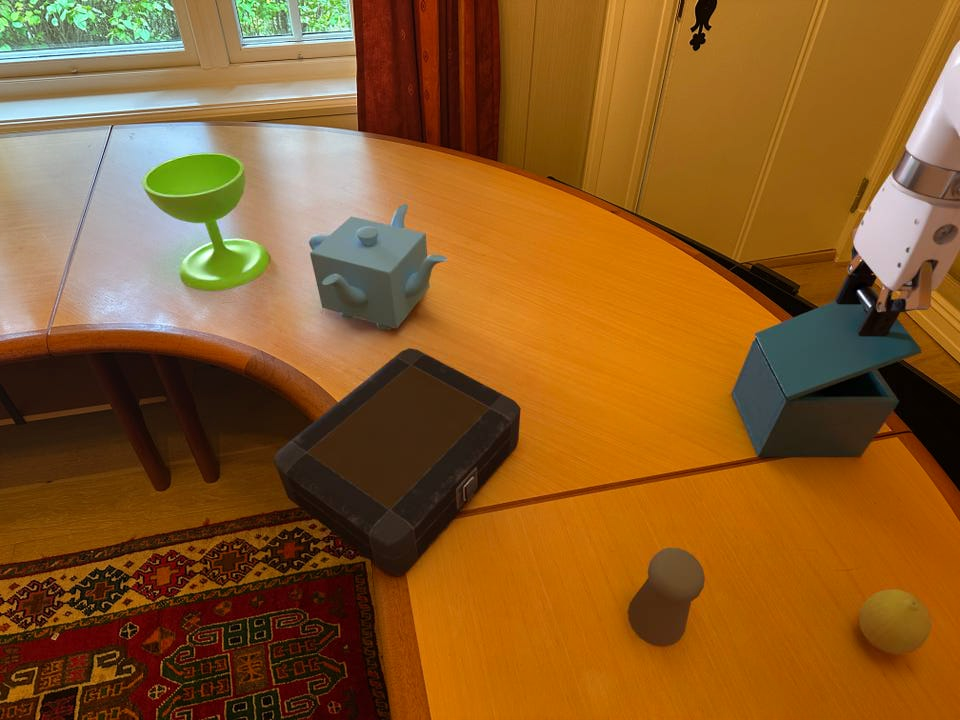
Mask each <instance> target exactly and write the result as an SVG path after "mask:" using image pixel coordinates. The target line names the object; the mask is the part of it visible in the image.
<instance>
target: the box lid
mask: <svg viewBox="0 0 960 720" xmlns="http://www.w3.org/2000/svg"><path fill="white" fill-rule="evenodd" d="M853 293H854V294H855V296H856V297H857V298H858V300H859V301H860V302H861V305H840V304H837V303H836V301H835V300H833V301H831V302H828V303H826V304H823V305H821V306H818V307H816V308H814V309H812V310H809V311H806V312H804V313H801V314H799V315H796V316H794V317H791V318H789V319H787V320H784V321H781V322H780V323H779V322H778V323H777V324H774V325H772V326H770V327H767V328H764V329H761V330H760V331H756V332H754V336H755V338H757V340H758V342H759V344H760V346H761V348H762V350H763V352H764V354H765V356H766V358H767V360H768V362H769V364H770V366H771V368H772V370H773V372H774V374H775V376H776V378H777V380H778V382H779V384H780V386H781V388H782V389H783V391H784V393H785V395H786V397H787V399H788V401H789V400H792V399H795V398H798V397H800V396H803V395H806V394H809V393H811V392H814V391H817V390H820V389H823V388H825V387H828V386H831V385H834V384H837V383H839V382H842V381H845V380H848V379H850V378H853V377H856V376H859V375H862V374H864V373H867V372H870V371H873V370H875V369H877V370H878V369H881V368H884V367H886V366H890V365H892V364H895V363H897V362H900V361H903V360H906V359H909V358H912V357H914V356H917V355H920V354H922V348H921V346H920V345H919V344H918V343H917V341H916V340H915V339H914V337H912V335H911V334H910V333H909V331H908V330H907V329H906V328H905V326H904V325H903V323H902V322H901V321H900V320H899V319H898V318H897V319H896V321H895V322H894V324H893V325H892V327H891V329H890V330H889V332H888V334H887V335H886V336H883V337H863V336H859V335H858V333H857V330H858V328H859V326H860V324H861V322H862V321H863V319H864V317H865V315H866V313H867V312H868V310H869V308H870V307H871V306H876V304H877V301H878V298H879V295H880V294H878V292H877V291H876V290H875V289H874V287H873V286H872V287H871V286H870V285H869V284H868V283H860V284H858V285H856V286H855V287H854V289H853Z"/></svg>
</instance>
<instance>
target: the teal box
mask: <svg viewBox="0 0 960 720" xmlns="http://www.w3.org/2000/svg"><path fill="white" fill-rule="evenodd" d="M730 394H731V397H732V399H733V401H734V404H735V406H736V409H737V411H738V413H739V416H740V418H741V421H742V422H743V425H744V428H745V431H746V432H747V434H748V438H749V439H750V442H751V444H752V446H753V449H754V451H755V453H756V456H757V458H861V457H862V455H863V454H864V453H865V451H866V450H867V449H868V447H869V446H870V444H871V443H872V441H873V440H874V438H875V437H876V436H877V435H878V433H879V431H880V430H881V429H882V427H883V426H884V424H885V423H886V422H887V420H888V418H889V417H890V416H891V415H892V413H893V411H894V410H895V409H896V407H897V405H898V404H899V403H900V400H899V399H898V398H897V397H898V396H896V395H895V393H894V392H893V391H892V389H891V388H890V386H889V384H888V383H887V381H886V380H885V379H884V377H883V376H882V374H881V373H880V372H879V370H878V369H875V370H873V371H870V372H867V373H864V374H862V375H859V376H856V377H853V378H850V379H848V380H845V381H842V382H839V383H837V384H834V385H831V386H828V387H825V388H823V389H820V390H817V391H814V392H811V393H809V394H806V395H803V396H800V397H798V398H795V399H792V400H789V401H788V399H787V397H786V395H785V393H784V391H783V389H782V388H781V386H780V384H779V382H778V380H777V378H776V376H775V374H774V372H773V370H772V368H771V366H770V364H769V362H768V360H767V358H766V356H765V354H764V352H763V350H762V348H761V346H760V344H759V342H758V340H757V338H756V337H754V338H753V340H752V342H751V345H750V347H749V350H748V352H747V355H746V357H745V359H744V362H743V364H742V367H741V369H740V371H739V374H738V376H737V378H736V381H735V383H734V386H733V388H732V390H731V393H730Z"/></svg>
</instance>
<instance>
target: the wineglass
mask: <svg viewBox="0 0 960 720" xmlns="http://www.w3.org/2000/svg"><path fill="white" fill-rule="evenodd" d="M141 186H142V188H143V190H144V192H145V193H146V195H147V197H148V198H149V200H150V201H151V202H152V203H153V204H154V205H155V206H156V207H157V208H158V209H160V210H161V211H162V212H163V213H165V214H166V215H168V216H170V217H172V218H174V219H176V220H179V221H182V222H187V223H191V224H204V225H205V228H206V230H207V233H208V236H209V239H210V241H211V242H209V243H206V244H204V245H201V246H200V247H198V248H196V249H195V250H193V251H191V252H190V253H189V254H188V255H187V256H186V257H185V258H184V259H183V261H182V262H181V264H180V266H179V267H180V268H179V277H180V279H181V281H182V282H183V283H184V284H185V285H186V286H187V287H190V288H192V289H194V290H199V291H205V292H206V291H212V292H213V291H223V290H231V289H233V288H237V287H240V286H243V285H246V284H247V283H249V282H252V281H254V280H255V279H257V278H258V277H259V276H261V275H262V273H264V272H265V271H266V270H267V268H268V266H269V265H270V261H271V260H270V254H269V253H268V251H267V249H266V248H265V247H264V246H262V244H260V243H258V242H255V241H253V240H249V239H242V238H228V239H223V237H222V234H221V230H220V227H219V225H218V222H217V221H218V220H220V219H223V218H225V217H226V216H227V215H229V214H230V213H231V212H232V211H233V210H234V209H235V208H236V207H238V204H239V202H240V200H241V198H242V197H243V195H244V192H245V188H246V187H245V186H246V171H245V164H244V163H243V162H242V160H241V159H239V158H238V157H236V156H234V155H231V154H228V153H227V154H226V153H222V152H197V153H189V154H185V155H179V156H176V157H173V158H170V159H167V160H163V162H160V163H158V164H156V165H154V166H153V167H151V168H150V169H148V170H147V171H146V173H145V174H144V175H143V176H142V179H141Z"/></svg>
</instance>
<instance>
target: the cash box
mask: <svg viewBox="0 0 960 720" xmlns="http://www.w3.org/2000/svg"><path fill="white" fill-rule="evenodd" d="M521 409H522V408H521V406H520V405H519V404H518V403H517V402H516V401H515V400H514V399H513V398H510V397H508V396H506V395H505V394H503V393H501V392H500V391H497V390H496V389H494V388H492V387H490V386H487V385H486V384H484V383H482V382H480V381H479V380H477V379H474V378H473V377H471V376H469V375H467V374H465V373H463V372H461V371H459V370H457V369H456V368H453V367H452V366H450V365H448V364H446V363H444V362H442V361H440V360H438V359H436V358H435V357H433V356H431V355H428V354H427V353H425V352H423V351H422V350H419V349H417V348H410V347H408V348H406V349H403V350H401V351H400V352H399V353H398V354H396V355H394V356H393V357H392V358H391V359H390V360H388V362H386V363H385V364H383V365H382V366H381V367H380V368H379V369H377V371H375V372H374V373H372V374H371V375H370V376H369V377H367V379H365V380H364V381H362V383H360V384H359V385H358V386H357V387H355V388H354V389H353V390H352V391H350V392H349V393H348V394H347V395H345V396H344V397H343V398H341V399H340V400H339V401H338V402H337V403H336V404H335V405H333V406H332V407H331V408H329V409H328V410H327V411H326V412H324V413H323V414H322V415H321V416H320V417H318V418H317V419H316V420H315V421H313V422H312V423H310V425H308V426H307V427H306V428H304V429H303V430H302V431H301V432H299V434H297V435H296V436H295V437H294V438H292V439H291V440H290V441H288V442H287V443H286V444H284V446H282V447H281V448H280V449H279V450H278V451H277V452H276V454H275V456H274V457H273V463H274V465H275V468H276V470H277V473H278V476H279V479H280V481H281V484H282V486H283V489H284V492H285V494H286V496H287V498H288V499H289V501H291V502H292V503H294V504H295V505H296V506H298V508H300V509H301V510H303V511H304V512H306V514H308V515H309V516H311V517H312V518H313V519H315V520H316V521H317V522H318V523H320V524H321V525H322V526H323V527H325V528H327V529H328V530H329V531H331V532H332V533H333V534H334V535H335V536H337V537H338V538H340V539H341V540H342V541H344V542H345V543H346V544H347V545H349V546H350V547H351V548H353V549H354V550H356V551H357V552H358V553H359V554H360V555H362V556H363V557H365V558H366V559H368V560H369V561H370V562H372V564H374V565H376V566H377V568H379V569H381V570H382V571H383V572H384V573H386V574H387V575H391V576H395V577H400V576H401V575H404V574H405V573H407V572H408V571H409V570H410V569H411V568H412V567H413V566H414V564H415V563H416V562H417V561H418V560H419V559H420V558H421V557H422V555H423V554H424V553H425V552H426V551H427V550H428V549H429V548H430V546H432V544H433V543H434V542H435V541H436V540H437V538H438V537H439V536H440V535H441V534H442V532H444V530H445V529H447V527H448V526H449V525H450V524H451V523H452V521H453V520H454V519H455V518H456V517H457V515H459V514H460V512H461V511H462V510H463V509H464V508H465V507H466V506H467V504H468V503H469V502H470V501H471V500H472V499H473V498H474V496H475V495H476V494H477V493H478V492H479V491H480V490H481V488H482V487H483V486H484V485H485V484H486V483H487V482H488V480H489V479H490V478H491V477H493V475H494V473H495V472H497V470H498V469H499V468H500V467H501V466H502V465H503V464H504V463H505V461H506V460H507V459H508V458H509V457H510V455H511V454H512V453H513V452H514V451H515V450H516V448H517V447H518V443H519V436H520V425H521V424H520V423H521Z"/></svg>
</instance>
